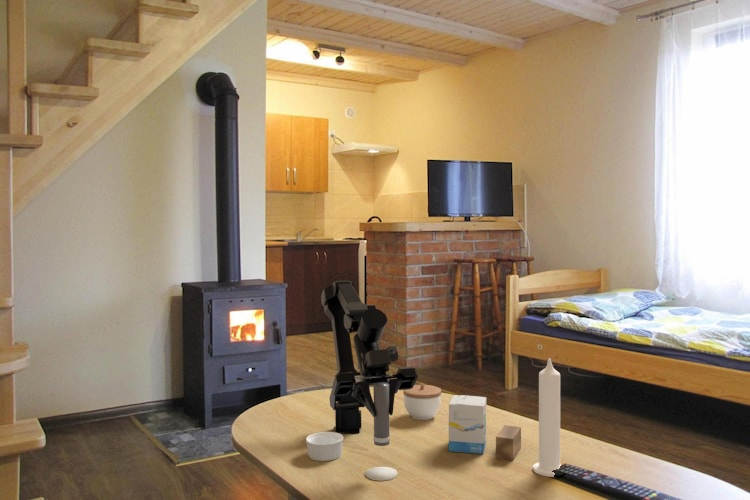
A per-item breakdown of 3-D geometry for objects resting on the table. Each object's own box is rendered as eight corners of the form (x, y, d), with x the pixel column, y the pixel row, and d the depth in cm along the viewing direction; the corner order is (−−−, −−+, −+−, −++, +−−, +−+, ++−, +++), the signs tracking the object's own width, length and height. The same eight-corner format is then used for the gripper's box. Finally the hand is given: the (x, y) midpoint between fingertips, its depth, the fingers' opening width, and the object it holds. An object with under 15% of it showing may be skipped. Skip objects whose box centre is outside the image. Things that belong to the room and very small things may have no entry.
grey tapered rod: (372, 445, 136) (371, 386, 135) (375, 440, 139) (374, 381, 139) (388, 446, 135) (387, 386, 135) (391, 440, 139) (390, 382, 138)
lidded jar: (447, 414, 180) (447, 382, 179) (430, 425, 170) (430, 390, 170) (415, 409, 185) (414, 377, 185) (396, 418, 176) (396, 385, 176)
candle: (566, 466, 141) (567, 355, 140) (565, 479, 134) (565, 362, 133) (534, 463, 143) (534, 354, 142) (531, 475, 136) (531, 360, 135)
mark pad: (365, 481, 134) (365, 479, 134) (365, 468, 141) (365, 466, 141) (398, 480, 134) (398, 479, 134) (396, 467, 141) (396, 466, 141)
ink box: (483, 454, 149) (483, 405, 148) (448, 451, 151) (447, 403, 150) (487, 442, 157) (487, 396, 156) (453, 439, 159) (452, 394, 159)
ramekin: (309, 464, 144) (309, 446, 144) (303, 451, 152) (303, 433, 152) (347, 460, 146) (347, 441, 146) (339, 447, 155) (338, 429, 155)
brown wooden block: (496, 457, 146) (495, 436, 146) (504, 445, 155) (504, 425, 154) (513, 460, 145) (513, 439, 144) (521, 447, 153) (521, 427, 153)
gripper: (334, 336, 137) (347, 400, 127) (415, 331, 143) (433, 392, 133) (327, 364, 145) (338, 426, 135) (403, 358, 151) (420, 418, 141)
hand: (383, 415), depth 136 cm, fingers closed on grey tapered rod, 3 cm apart
